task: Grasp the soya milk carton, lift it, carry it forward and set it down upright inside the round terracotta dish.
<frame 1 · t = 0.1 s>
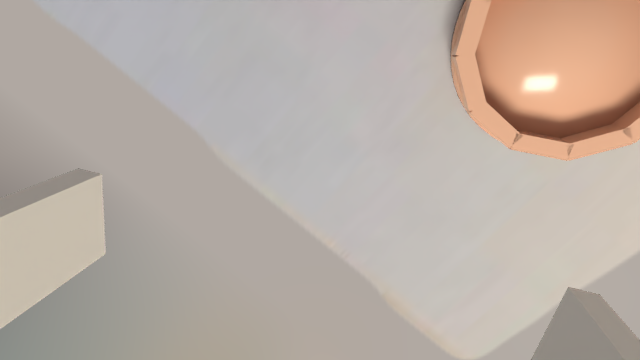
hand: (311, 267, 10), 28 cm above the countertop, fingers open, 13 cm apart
tray: (565, 44, 31), on the countertop
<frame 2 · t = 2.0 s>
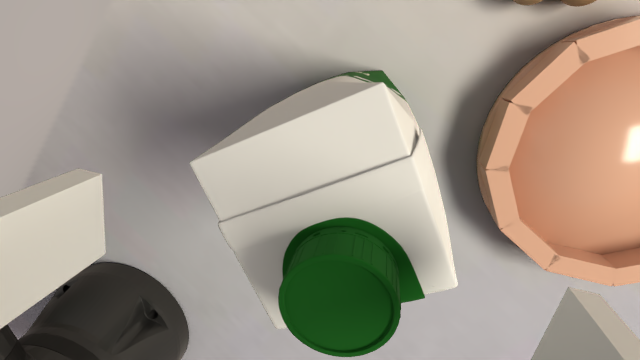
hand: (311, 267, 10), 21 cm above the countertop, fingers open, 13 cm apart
tray: (611, 153, 27), on the countertop
soya milk: (357, 127, 30), on the countertop
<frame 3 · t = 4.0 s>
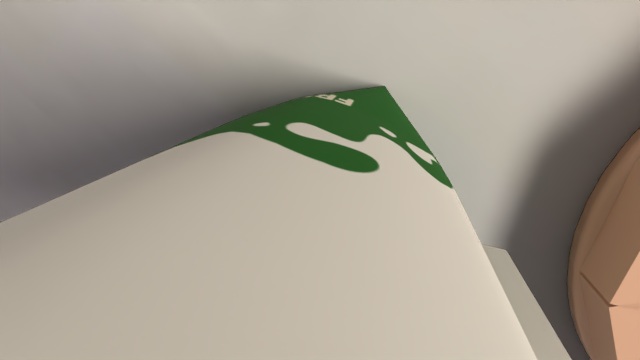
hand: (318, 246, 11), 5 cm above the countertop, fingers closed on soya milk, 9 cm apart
soya milk: (336, 191, 16), on the countertop, touching gripper
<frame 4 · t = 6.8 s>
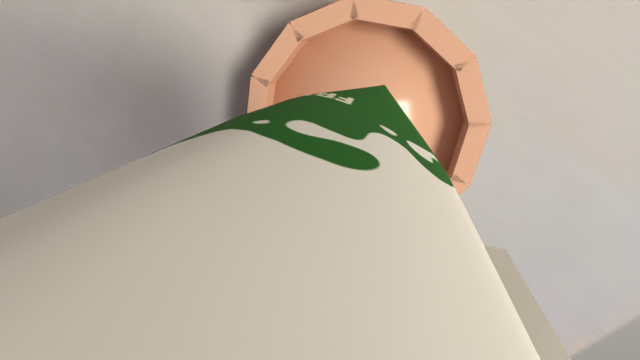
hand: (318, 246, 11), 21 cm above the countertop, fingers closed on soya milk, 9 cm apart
tray: (362, 123, 31), on the countertop
soya milk: (336, 190, 16), point 16 cm above the countertop, touching gripper
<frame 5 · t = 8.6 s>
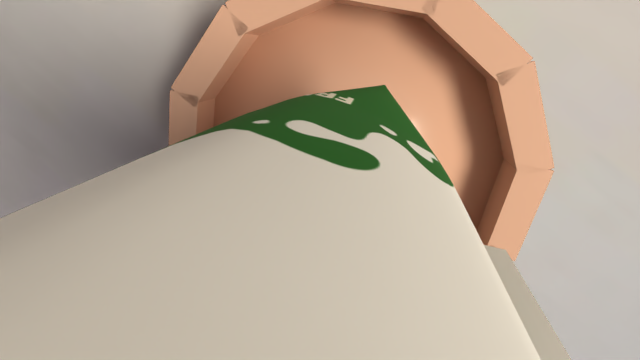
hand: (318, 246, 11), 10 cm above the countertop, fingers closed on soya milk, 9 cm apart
tray: (347, 158, 21), on the countertop
soya milk: (336, 190, 16), point 5 cm above the countertop, touching gripper
when the fingers open (7 cm above the countertop, at t = 9.8 s): soya milk drops 1 cm, resting on tray.
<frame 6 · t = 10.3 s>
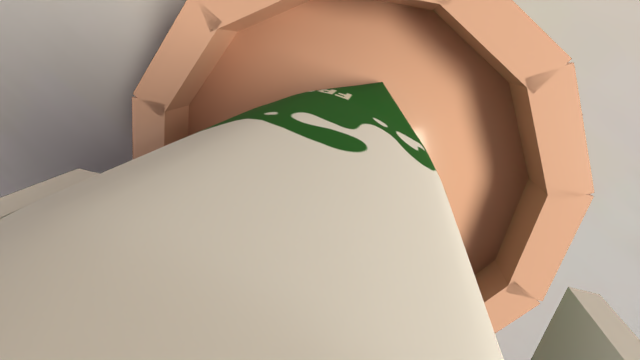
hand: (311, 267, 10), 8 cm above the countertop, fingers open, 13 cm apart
tray: (343, 175, 18), on the countertop
soya milk: (338, 179, 17), point 1 cm above the countertop, touching tray
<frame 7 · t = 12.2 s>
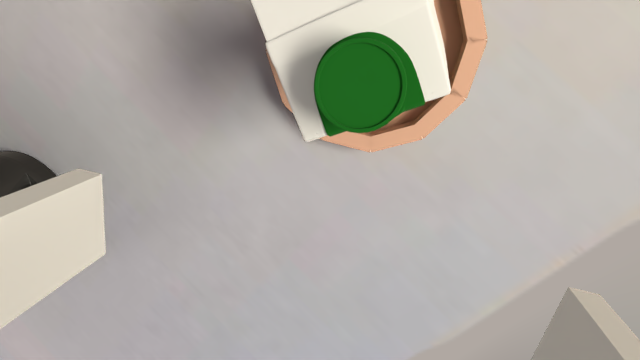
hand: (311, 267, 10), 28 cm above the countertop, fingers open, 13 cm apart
tray: (372, 46, 34), on the countertop
soya milk: (369, 45, 34), point 1 cm above the countertop, touching tray
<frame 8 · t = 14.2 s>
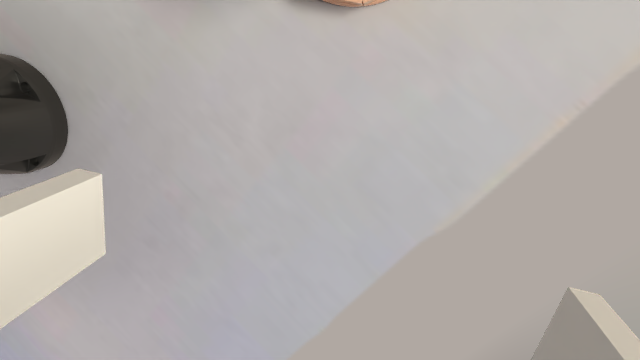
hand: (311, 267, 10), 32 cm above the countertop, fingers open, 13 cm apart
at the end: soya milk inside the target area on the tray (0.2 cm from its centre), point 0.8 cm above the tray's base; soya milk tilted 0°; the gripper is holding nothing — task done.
